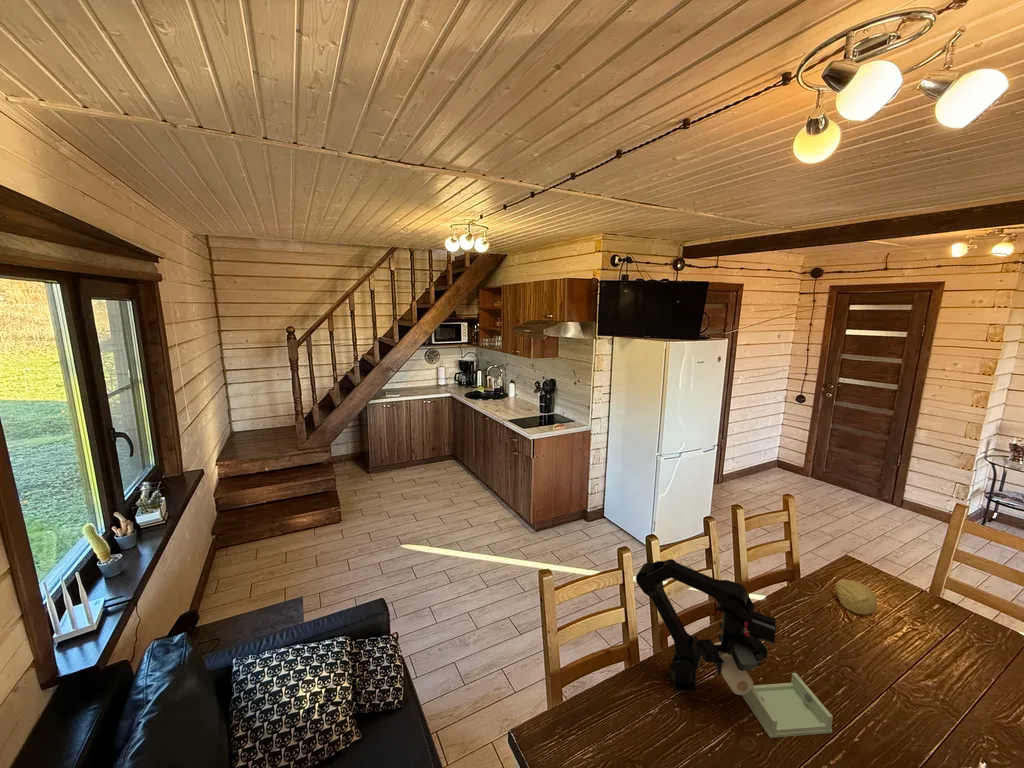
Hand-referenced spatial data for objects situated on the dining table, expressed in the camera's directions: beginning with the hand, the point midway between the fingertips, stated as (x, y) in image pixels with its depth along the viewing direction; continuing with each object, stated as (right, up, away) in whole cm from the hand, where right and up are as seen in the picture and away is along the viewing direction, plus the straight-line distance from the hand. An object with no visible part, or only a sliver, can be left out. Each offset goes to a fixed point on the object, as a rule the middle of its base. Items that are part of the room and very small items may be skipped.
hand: (729, 672), depth 123 cm
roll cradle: (+15, -11, -1) cm, 19 cm away
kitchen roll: (0, +2, 0) cm, 2 cm away
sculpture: (+70, -2, +39) cm, 80 cm away
